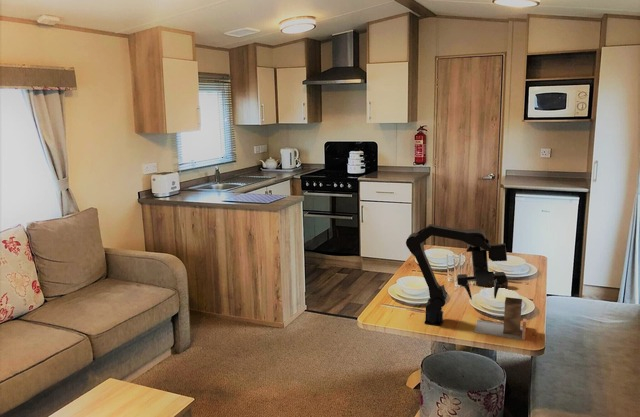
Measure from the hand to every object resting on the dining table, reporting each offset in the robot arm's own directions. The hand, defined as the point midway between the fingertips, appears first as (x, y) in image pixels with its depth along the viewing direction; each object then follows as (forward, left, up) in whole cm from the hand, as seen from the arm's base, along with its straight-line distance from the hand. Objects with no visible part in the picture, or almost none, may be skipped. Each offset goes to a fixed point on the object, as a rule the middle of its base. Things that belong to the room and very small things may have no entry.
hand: (483, 298), depth 206 cm
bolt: (0, +50, -13) cm, 52 cm away
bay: (+7, 0, -13) cm, 15 cm away
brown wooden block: (+11, 0, -12) cm, 17 cm away
